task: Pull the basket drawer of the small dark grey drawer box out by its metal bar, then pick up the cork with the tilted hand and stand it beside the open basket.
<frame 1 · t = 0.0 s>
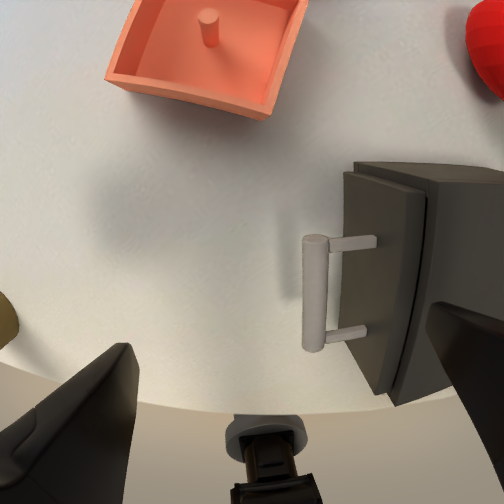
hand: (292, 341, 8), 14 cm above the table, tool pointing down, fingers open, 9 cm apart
tomato: (480, 57, 17), on the table
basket: (423, 272, 18), point 5 cm above the table, slide at 0.0 cm, touching dark grey drawer box
dark grey drawer box: (426, 243, 23), on the table
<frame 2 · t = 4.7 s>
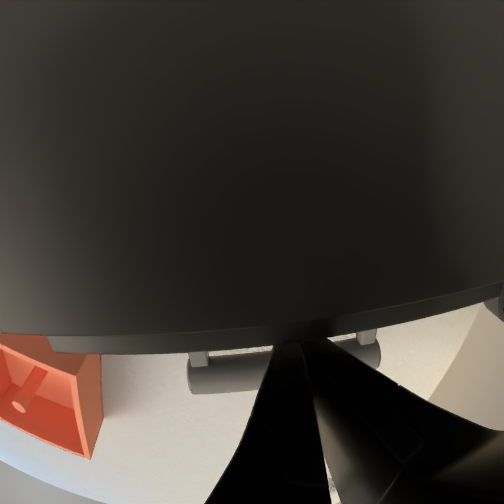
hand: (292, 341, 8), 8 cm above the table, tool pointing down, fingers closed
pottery: (1, 339, 16), on the table
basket: (271, 123, 8), point 5 cm above the table, slide at 0.0 cm, touching dark grey drawer box, gripper
dark grey drawer box: (250, 50, 12), on the table
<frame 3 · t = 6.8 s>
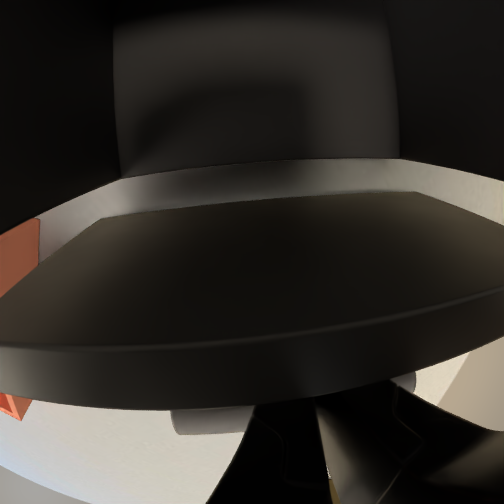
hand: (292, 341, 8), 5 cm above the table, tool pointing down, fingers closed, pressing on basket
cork: (309, 491, 21), on the table
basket: (280, 77, 6), point 5 cm above the table, slide at 6.6 cm, touching gripper
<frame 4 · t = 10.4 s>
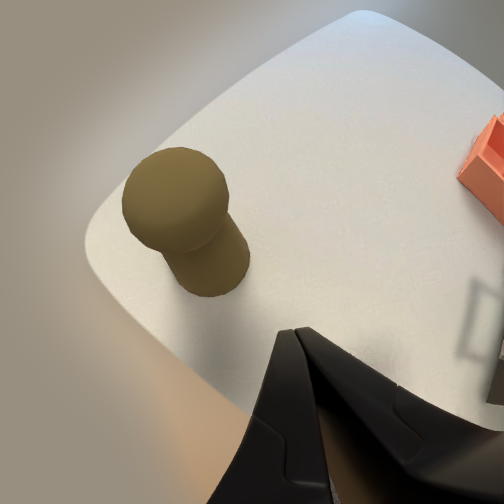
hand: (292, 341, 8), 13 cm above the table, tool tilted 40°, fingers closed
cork: (210, 258, 23), on the table
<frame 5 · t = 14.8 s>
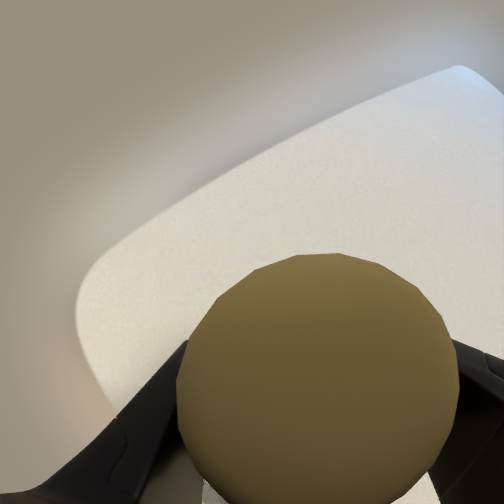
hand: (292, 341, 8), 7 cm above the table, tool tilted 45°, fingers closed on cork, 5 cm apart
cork: (275, 387, 14), on the table, touching gripper
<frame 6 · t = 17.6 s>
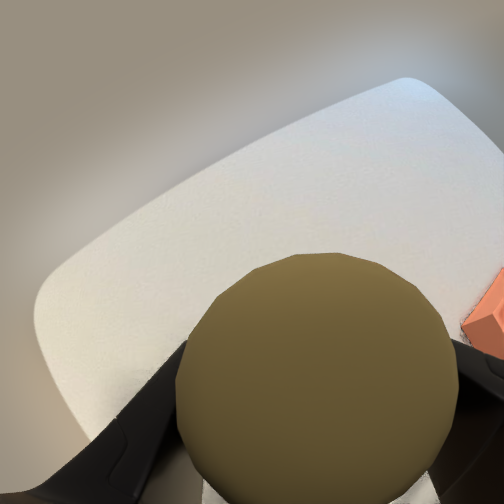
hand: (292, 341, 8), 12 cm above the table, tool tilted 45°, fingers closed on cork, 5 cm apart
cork: (275, 386, 14), point 6 cm above the table, touching gripper
when the fingers open (7 cm above the table, at t = 20.4 s): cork stays where it is, on the table.
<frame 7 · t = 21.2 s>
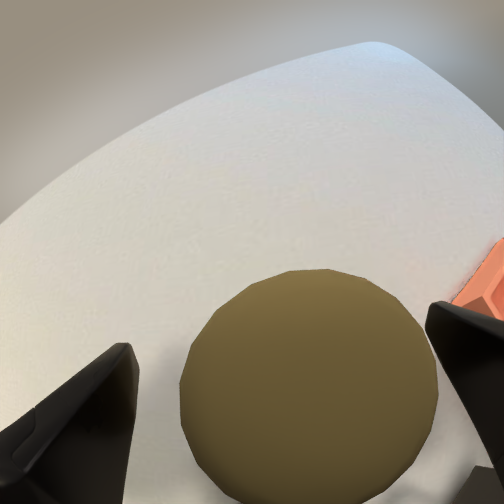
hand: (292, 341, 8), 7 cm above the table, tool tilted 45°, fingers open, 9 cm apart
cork: (273, 388, 14), on the table
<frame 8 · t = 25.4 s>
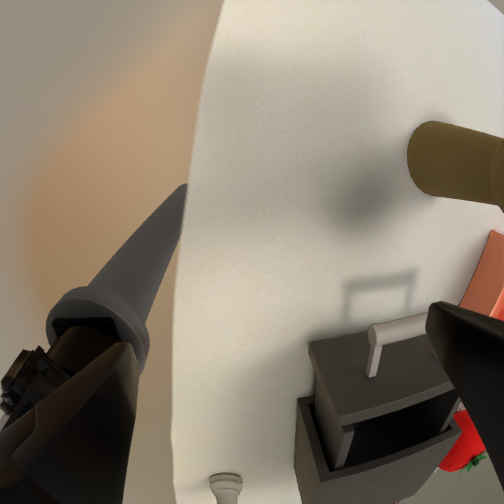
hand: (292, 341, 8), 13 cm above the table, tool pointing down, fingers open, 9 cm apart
rook chess piece: (225, 478, 32), on the table
tomato: (447, 419, 34), on the table
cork: (435, 158, 20), on the table
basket: (388, 398, 21), point 5 cm above the table, slide at 6.6 cm
dark grey drawer box: (352, 426, 30), on the table
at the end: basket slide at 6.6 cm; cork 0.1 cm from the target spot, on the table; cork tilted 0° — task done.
